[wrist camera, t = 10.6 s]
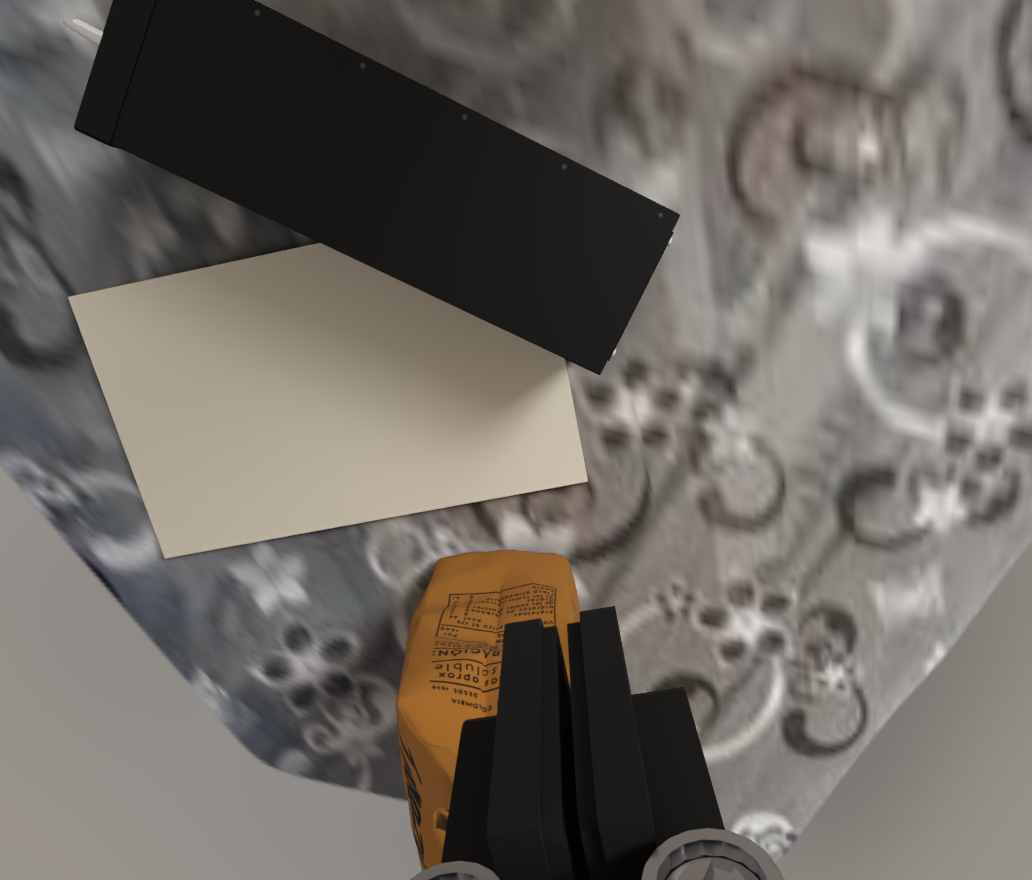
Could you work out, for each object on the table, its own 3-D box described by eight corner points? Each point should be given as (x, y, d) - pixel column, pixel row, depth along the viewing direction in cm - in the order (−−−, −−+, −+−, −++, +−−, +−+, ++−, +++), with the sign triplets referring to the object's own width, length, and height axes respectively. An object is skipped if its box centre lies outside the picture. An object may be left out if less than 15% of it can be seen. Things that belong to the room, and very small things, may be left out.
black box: (602, 379, 34) (-5, 92, 31) (586, 355, 42) (97, 123, 39) (685, 214, 32) (51, -106, 30) (653, 221, 40) (146, -32, 37)
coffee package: (420, 709, 49) (333, 1083, 28) (425, 534, 46) (329, 814, 25) (573, 720, 49) (599, 1103, 28) (590, 546, 46) (636, 836, 25)
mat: (534, 196, 40) (534, 196, 39) (587, 478, 44) (588, 481, 44) (73, 295, 42) (67, 296, 41) (168, 555, 46) (164, 558, 46)
